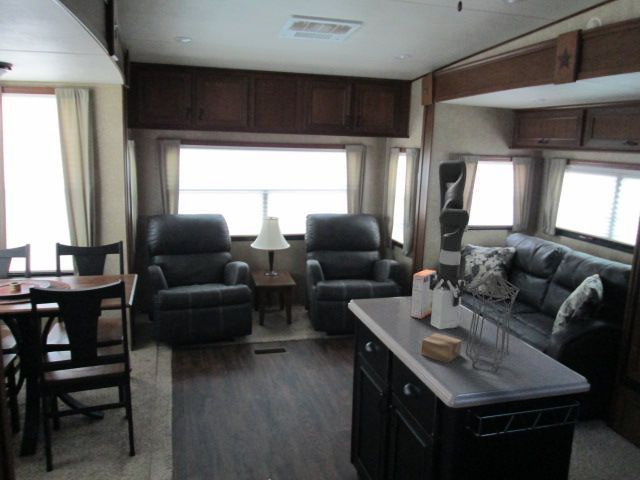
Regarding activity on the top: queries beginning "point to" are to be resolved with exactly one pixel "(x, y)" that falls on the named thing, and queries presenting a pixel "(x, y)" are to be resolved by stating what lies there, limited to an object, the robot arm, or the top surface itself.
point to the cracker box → (422, 294)
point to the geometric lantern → (475, 292)
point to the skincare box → (443, 309)
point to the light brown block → (441, 347)
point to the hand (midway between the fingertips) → (445, 303)
